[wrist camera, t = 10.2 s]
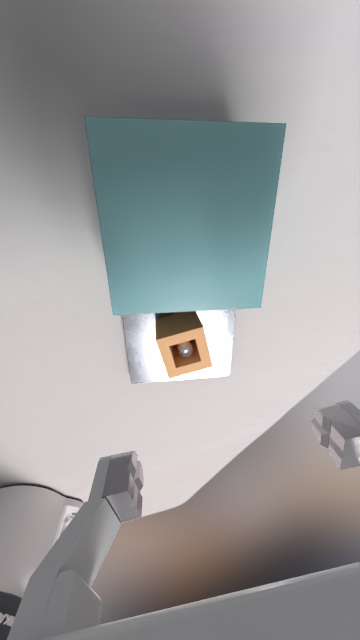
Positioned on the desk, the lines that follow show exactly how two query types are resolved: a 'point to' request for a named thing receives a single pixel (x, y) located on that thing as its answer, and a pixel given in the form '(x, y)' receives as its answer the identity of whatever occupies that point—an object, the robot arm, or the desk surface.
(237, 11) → the desk surface
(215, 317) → the housing base
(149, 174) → the cover
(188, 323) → the hollow square tube
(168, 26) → the desk surface
